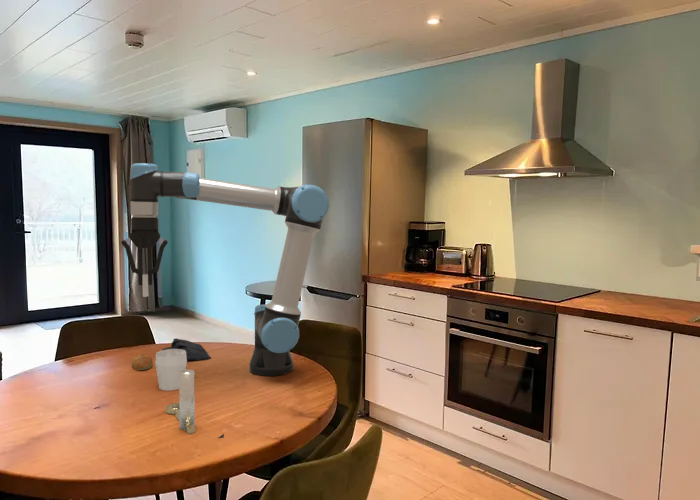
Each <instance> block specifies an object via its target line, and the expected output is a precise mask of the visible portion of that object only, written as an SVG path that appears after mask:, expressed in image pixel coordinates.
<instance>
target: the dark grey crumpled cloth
mask: <svg viewBox="0 0 700 500" xmlns="http://www.w3.org/2000/svg"><path fill="white" fill-rule="evenodd" d="M167 349H182V350H185V351H186V357H187V362H188V361H207V360H211V359H212V357H211V356H210V355H209V353H208V351H207V350H206V349H205V348H204V347H203V345H201V344H200V343H195V342H192V341H189V340H187V339H182V338H173V340H172V342H171V345H170V347H165V348H162V350H167ZM162 350H161V351H162Z"/></svg>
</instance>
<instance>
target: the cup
mask: <svg viewBox="0 0 700 500" xmlns="http://www.w3.org/2000/svg"><path fill="white" fill-rule="evenodd" d="M187 363H188V361H187V357H186V351H185V350H182V349H167V350H159V351H157V352H156V353H155V364H154V365H155V370H156V375H157V376H156V378H157V382H158V388H159V390H162V391H166V392H167V391H169V392H170V391H176V390H179V372H180V371H182V370H187Z"/></svg>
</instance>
